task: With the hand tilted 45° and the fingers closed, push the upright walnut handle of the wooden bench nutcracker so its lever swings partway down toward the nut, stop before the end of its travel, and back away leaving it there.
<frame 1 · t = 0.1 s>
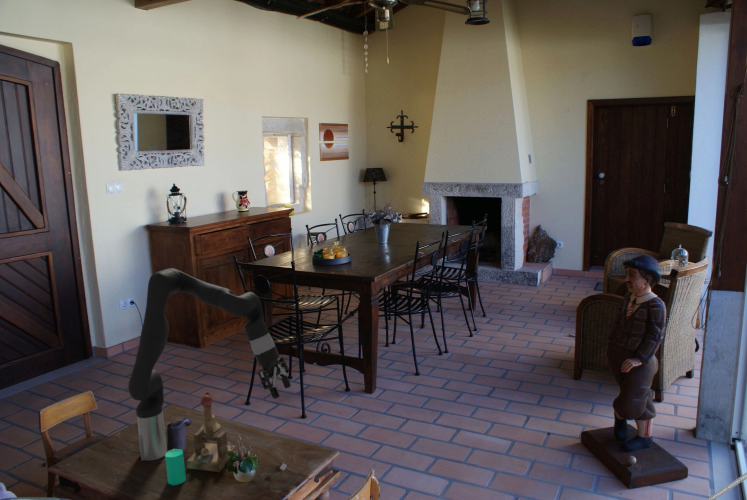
hand: (282, 392, 198), 31 cm above the table, tool tilted 20°, fingers open, 8 cm apart
hand bell: (210, 429, 240), on the table
candle: (177, 480, 204), on the table
nutcracker bench: (212, 460, 216), on the table
lever: (208, 417, 213), point 17 cm above the table, hinge at 0.0°
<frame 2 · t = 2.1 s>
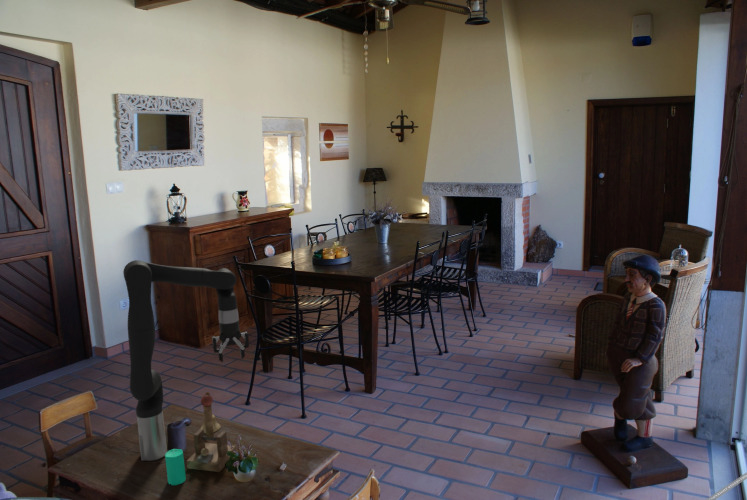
hand: (232, 359, 229), 32 cm above the table, tool pointing down, fingers open, 7 cm apart
nothing on the table moved.
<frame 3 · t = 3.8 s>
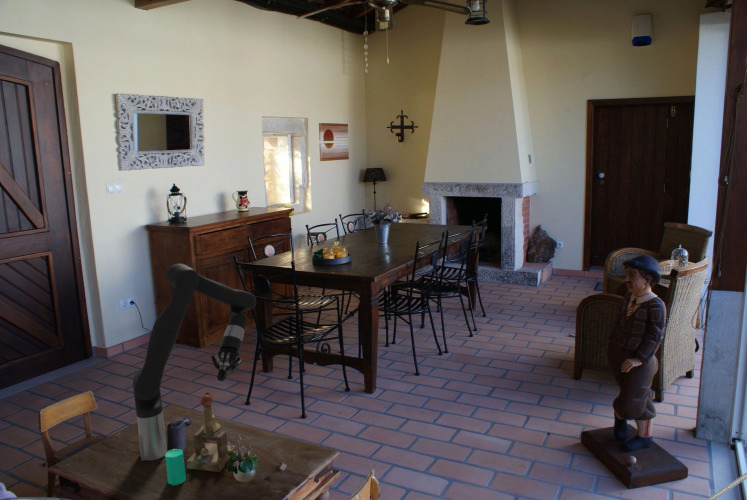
hand: (220, 380, 221), 27 cm above the table, tool tilted 45°, fingers closed
nothing on the table moved.
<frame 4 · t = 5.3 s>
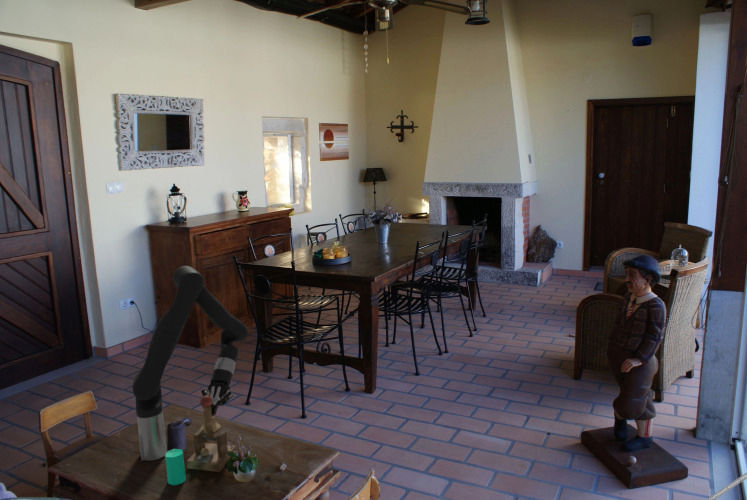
hand: (210, 416, 214), 17 cm above the table, tool tilted 45°, fingers closed
lever: (208, 418, 212), point 17 cm above the table, hinge at 1.7°, touching gripper
everything else where it was.
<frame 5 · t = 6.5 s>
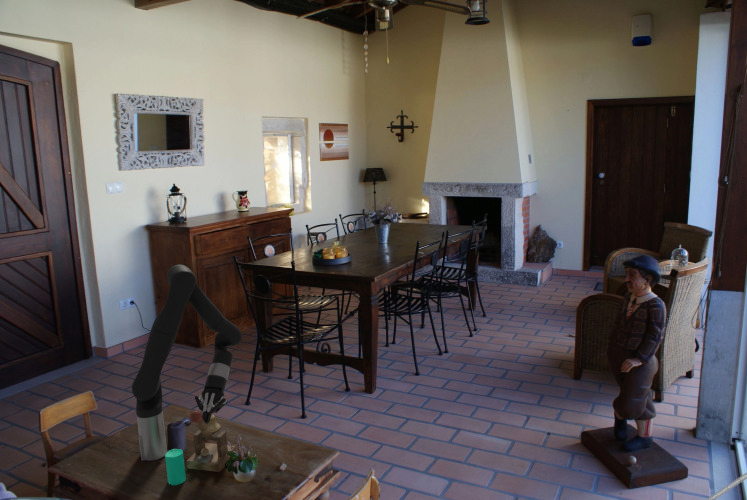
hand: (204, 423, 210), 16 cm above the table, tool tilted 45°, fingers closed
lever: (202, 426, 209), point 16 cm above the table, hinge at 32.2°, touching gripper
everything else where it was.
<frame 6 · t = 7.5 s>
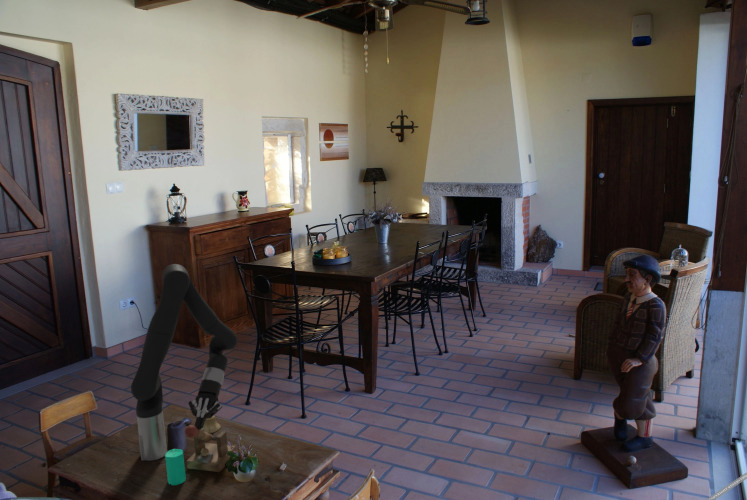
hand: (198, 429, 205), 17 cm above the table, tool tilted 45°, fingers closed
lever: (200, 434, 207), point 14 cm above the table, hinge at 52.8°, touching gripper
everything else where it was.
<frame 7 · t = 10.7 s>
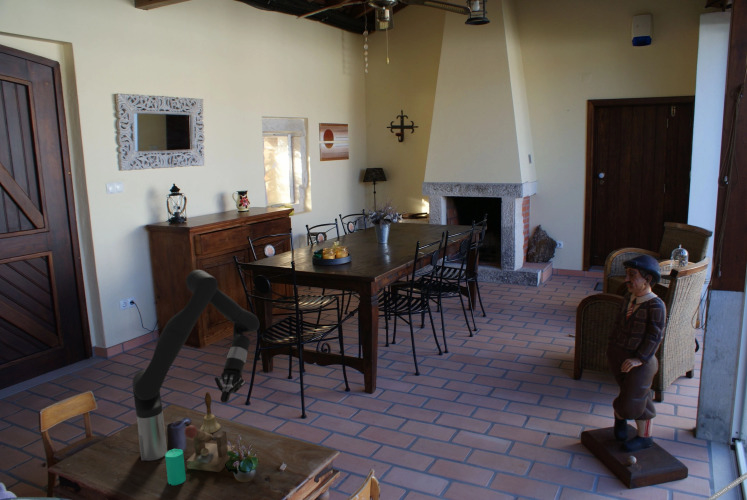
hand: (223, 402, 224), 18 cm above the table, tool tilted 45°, fingers closed
lever: (200, 434, 207), point 14 cm above the table, hinge at 53.0°
everything else where it was.
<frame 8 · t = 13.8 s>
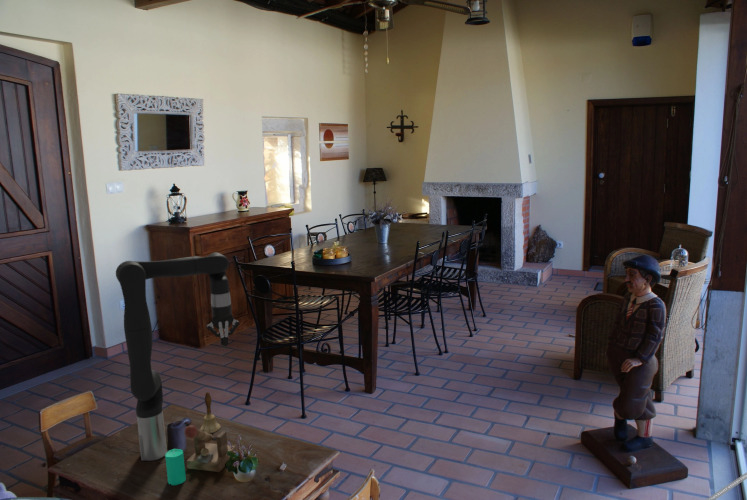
hand: (224, 345, 230), 37 cm above the table, tool pointing down, fingers closed
nothing on the table moved.
at the end: lever at +53° (first picture: +0°); the gripper is holding nothing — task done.
